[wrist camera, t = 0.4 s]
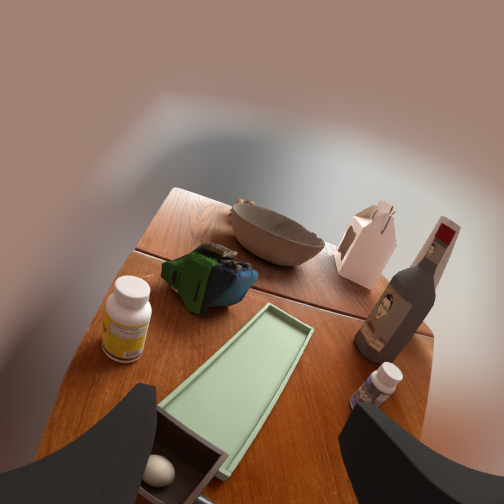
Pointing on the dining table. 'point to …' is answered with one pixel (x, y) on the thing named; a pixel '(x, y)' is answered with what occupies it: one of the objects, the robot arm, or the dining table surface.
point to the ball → (158, 471)
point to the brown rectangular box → (182, 463)
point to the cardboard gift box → (367, 245)
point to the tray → (240, 383)
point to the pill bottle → (378, 385)
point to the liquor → (403, 305)
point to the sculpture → (209, 277)
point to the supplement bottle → (126, 319)
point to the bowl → (273, 235)
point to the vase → (447, 253)
